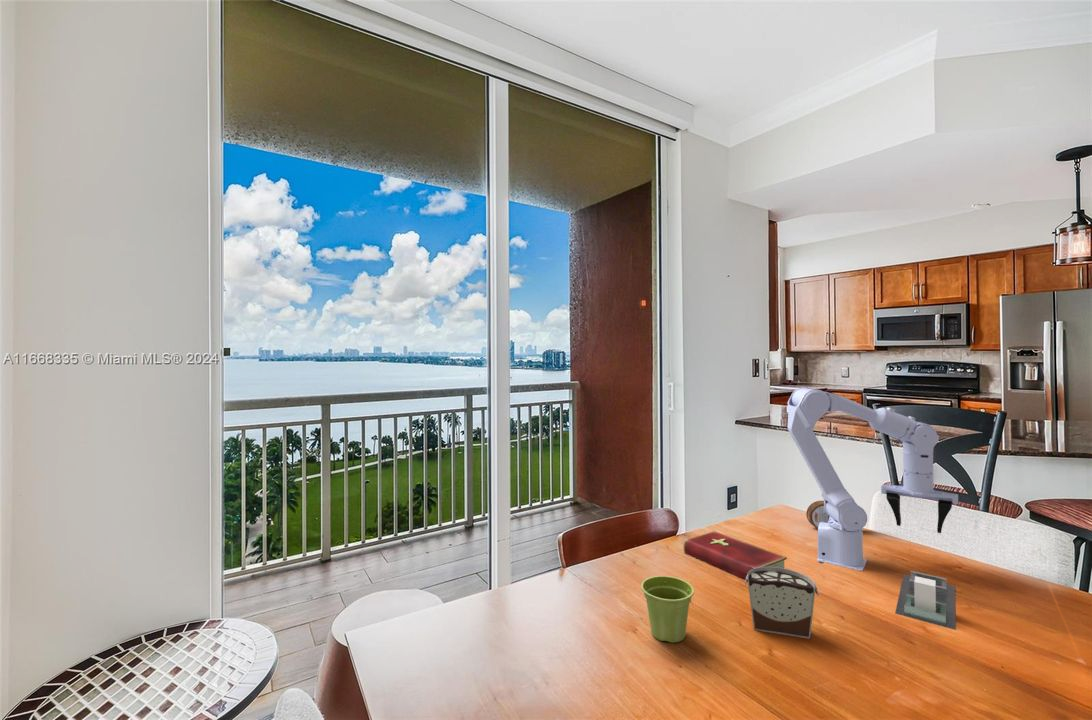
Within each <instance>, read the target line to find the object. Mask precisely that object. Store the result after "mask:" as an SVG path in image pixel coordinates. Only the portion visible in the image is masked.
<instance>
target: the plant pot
mask: <svg viewBox="0 0 1092 720" xmlns="http://www.w3.org/2000/svg"><path fill="white" fill-rule="evenodd" d="M640 586H641V591H642V592H643V595H644V598H645V599H646V605H647V611H648V613H647V614H648V616H649V617H648V618H649V625H650V632H651V634H652V636H653V637H654V638H655V639H657V640H659V641H660V642H664V641H665V642H669V643H673V644H674V643H679V642H681V641H683V640H684V639H685V638H686V637H685V636H686V632H687V625H688V614H689V607H690V603H691V600H692V597H693V596H694V593H695V590H694V589H695V588H694V587H693V586H692V584H691V583H690V582H688V581H686V580H684V579H681V578H678V577H675V576H669V575H655V576H651V577H647V578H646V579H644V580H643V581H642V582H641V585H640Z"/></svg>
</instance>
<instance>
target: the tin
mask: <svg viewBox="0 0 1092 720" xmlns="http://www.w3.org/2000/svg"><path fill="white" fill-rule="evenodd" d="M805 514H806V518H807V521H808V523H810V525H812V526H813V527H814V528H815V529H816V530H818V527H819V523H820V522H824V523H828V520H829V518H830V517H829V515H828V514H827V513H826V511H825V507H824V500H817V501H813V502H812V503H810V505H809V506H808V507H807V509H806V512H805Z"/></svg>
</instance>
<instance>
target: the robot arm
mask: <svg viewBox="0 0 1092 720" xmlns="http://www.w3.org/2000/svg"><path fill="white" fill-rule="evenodd" d="M787 408H788V412H787V430H788V432H789V434H790V436H791V438H792V440H793V442H794V443H795V445H796V447H797V449H798V450H799V453H800V454H801V456H802V458H803V459H804V461H805V463H806V465H807V467H808V468H809V470H810V473H811V475H812V476H813V478H814V480H815V482H816V483H817V485H818V487H819V488H820V491H821V497H822V500H823V501H824V507H825V511H826V513H827V514H828V515H829V517H830V518H829V520H828V523H824V522H820V523H819V527H818V529H817V559H816V560H817V562H819V563H826V564H830V565H835V566H839V567H842V568H847V569H852V570H855V571H859V572H863V571H864V569H865V566H866V564H867V561H868V559H866V558H864V550H863V549H864V546H863V543H864V538H863V537H864V536H863V535H864V533H863V529H864V527H866V525H867V523H868V515H867V512H866V511H865V509H864V508H863V507H861V505H858V504H857V503H856V501H855V499H854V498H853V495H851V494H850V492H849V491H848V490H847V489H846V488H845V486H844V484H843V482H842V481H841V479H840V477H839V476H838V473H837V472H836V470H835V467H834V466H833V465H832V463H831V461H830V459H829V457H828V456H827V454H826V452H825V451H824V447H823V446H822V445H821V443H820V441H819V439H818V437H817V435H816V434H815V432H814V429H815V426H816V424H817V422H818V421H819V420H820V419H821V418H822V417H823V416H824V415H825V413H827V412H830V413H833V412H838V411H839V412H842V413H844V414H848V415H849V416H853V417H856V418H858V419H861V420H864V421H867V422H868V425H869V426H870V428H871V429H872V430H874V431H877V432H880V433H883V434H885V435H888V436H890V437H892V438H894V439H897V440H899V441H900V442H902V466H903V467H902V471H903V472H902V474H903V475H902V478H903V480H902V481H903V482H902V483H903V485H894V484H892V485H891V484H884V483H883V484H881V486H880V492H881V493H880V494H881V495H886V496H885V497H886V500H887V502H888V504H889V505H890V508H891V510H892V512H893V514H894V518H895V522H896V526H898V527H901V525H902V517H901V497H906V498H907V497H908V498H915V499H916V498H917V499H922V500H929V501H936V502H937V515H938V516H937V527H936V529H937V533H938V534H942V529H943V525H944V522H945V520H946V519H947V516H948V514H949V513H950V511H951V510H952V507H953V504H954V505H959V494H957V493H953V492H952V493H951V492H945V491H940V490H935V489H934V447H935V446H936V445H937V443H938V442H939V440H940V435H938V433H937V431H936V429H935V428H934V426H933V425H930V424H929V423H925V422H920V421H916V417H913V416H910V415H908V416H906V415H903V414H900V413H898V412H895V411H896V409H894V408H891V407H886V408H885V407H879V408H876V409H873V408H871V407H868V406H865V405H863V404H861V403H859V402H857V401H854V400H851V399H849V398H847V397H845V396H842V395H840V394H836V393H833V392H832V393H831V392H828V391H823V390H820V389H818V388H817V389H811V388H808V387H798V388H796V389H795V390H793V392H792V393H791V395H790V397H789V398H788V401H787Z"/></svg>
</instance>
